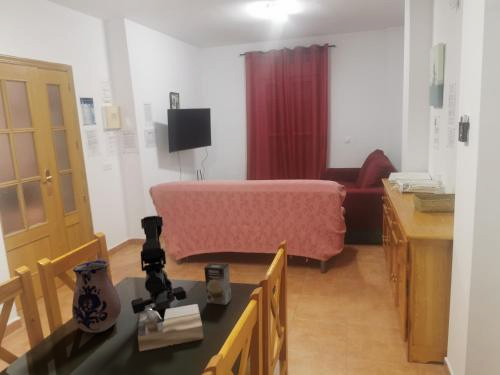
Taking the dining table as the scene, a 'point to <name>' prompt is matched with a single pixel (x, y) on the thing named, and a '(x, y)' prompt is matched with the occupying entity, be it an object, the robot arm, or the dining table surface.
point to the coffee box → (217, 283)
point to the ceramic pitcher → (94, 297)
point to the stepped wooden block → (170, 332)
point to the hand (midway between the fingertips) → (163, 321)
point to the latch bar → (154, 319)
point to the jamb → (175, 312)
